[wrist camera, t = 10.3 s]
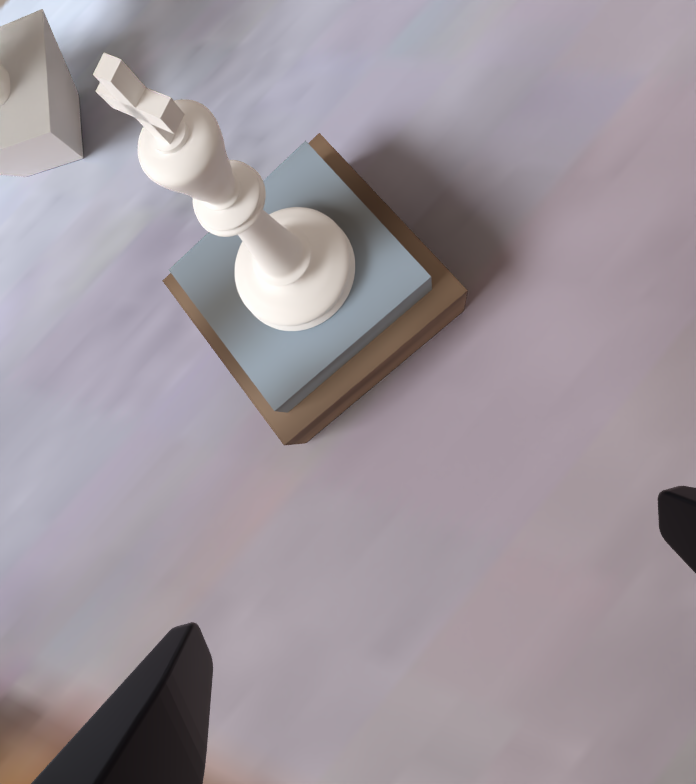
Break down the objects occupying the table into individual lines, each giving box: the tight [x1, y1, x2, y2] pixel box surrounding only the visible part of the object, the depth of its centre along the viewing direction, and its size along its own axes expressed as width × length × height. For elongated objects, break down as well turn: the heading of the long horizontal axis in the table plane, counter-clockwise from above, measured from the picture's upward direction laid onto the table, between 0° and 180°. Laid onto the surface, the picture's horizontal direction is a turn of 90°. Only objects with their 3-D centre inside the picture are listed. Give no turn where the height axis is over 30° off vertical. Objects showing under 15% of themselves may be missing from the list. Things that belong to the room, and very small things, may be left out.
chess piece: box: [93, 53, 355, 331], centre depth 12 cm, size 5×5×10 cm
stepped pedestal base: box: [163, 133, 467, 445], centre depth 19 cm, size 10×10×4 cm
